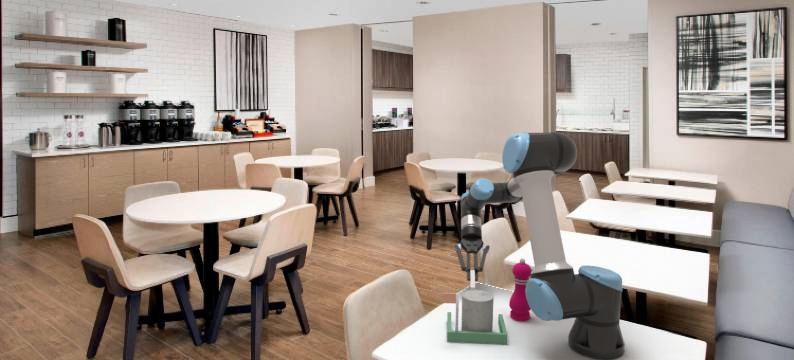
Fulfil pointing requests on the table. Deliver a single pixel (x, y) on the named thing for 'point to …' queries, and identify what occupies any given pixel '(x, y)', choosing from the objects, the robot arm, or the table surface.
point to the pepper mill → (520, 292)
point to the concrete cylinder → (477, 310)
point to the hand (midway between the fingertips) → (472, 289)
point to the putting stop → (471, 335)
